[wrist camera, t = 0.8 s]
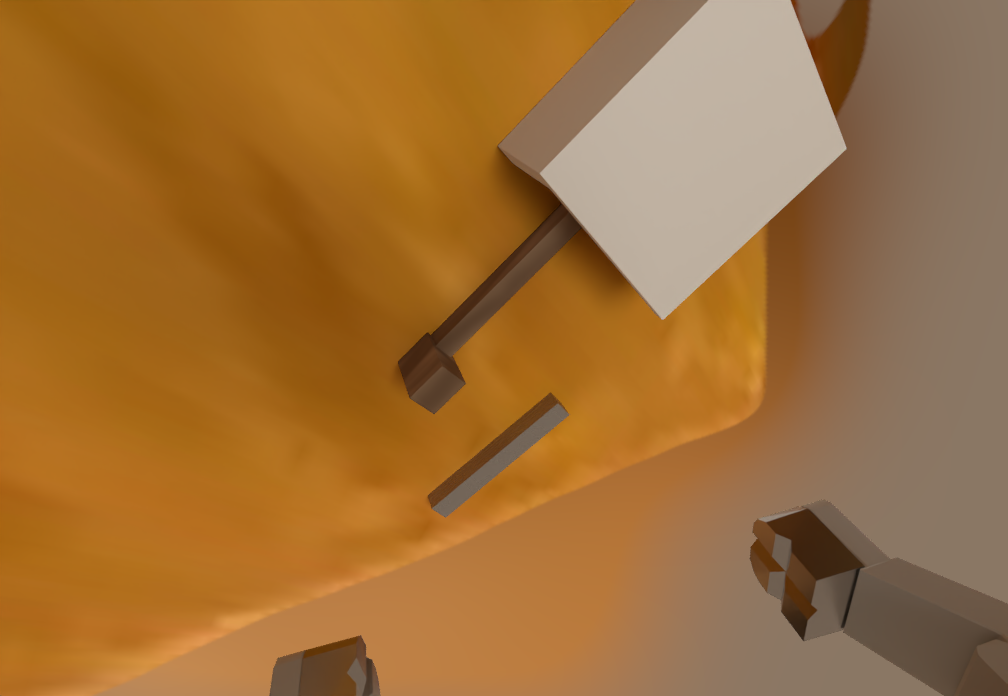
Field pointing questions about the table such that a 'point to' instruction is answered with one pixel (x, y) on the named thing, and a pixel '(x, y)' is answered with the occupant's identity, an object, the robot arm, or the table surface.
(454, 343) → the hooked rake
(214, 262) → the table surface
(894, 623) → the robot arm
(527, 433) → the straight rod
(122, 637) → the table surface
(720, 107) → the small white bench
